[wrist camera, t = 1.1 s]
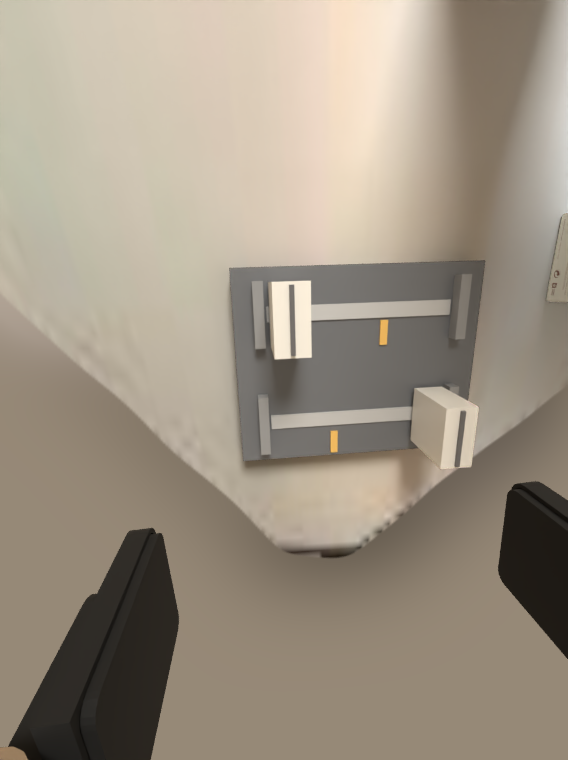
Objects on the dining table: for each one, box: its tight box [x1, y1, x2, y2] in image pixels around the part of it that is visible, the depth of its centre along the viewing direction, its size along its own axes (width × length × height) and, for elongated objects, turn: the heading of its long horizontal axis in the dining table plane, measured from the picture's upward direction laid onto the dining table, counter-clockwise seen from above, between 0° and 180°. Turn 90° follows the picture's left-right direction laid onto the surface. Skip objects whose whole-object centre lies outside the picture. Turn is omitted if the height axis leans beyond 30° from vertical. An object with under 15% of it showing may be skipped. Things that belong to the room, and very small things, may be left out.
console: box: [229, 260, 485, 461], centre depth 29 cm, size 16×20×3 cm
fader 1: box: [268, 281, 312, 359], centre depth 24 cm, size 5×2×5 cm, turn 2°
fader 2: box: [410, 386, 479, 469], centre depth 27 cm, size 5×2×5 cm, turn 2°
